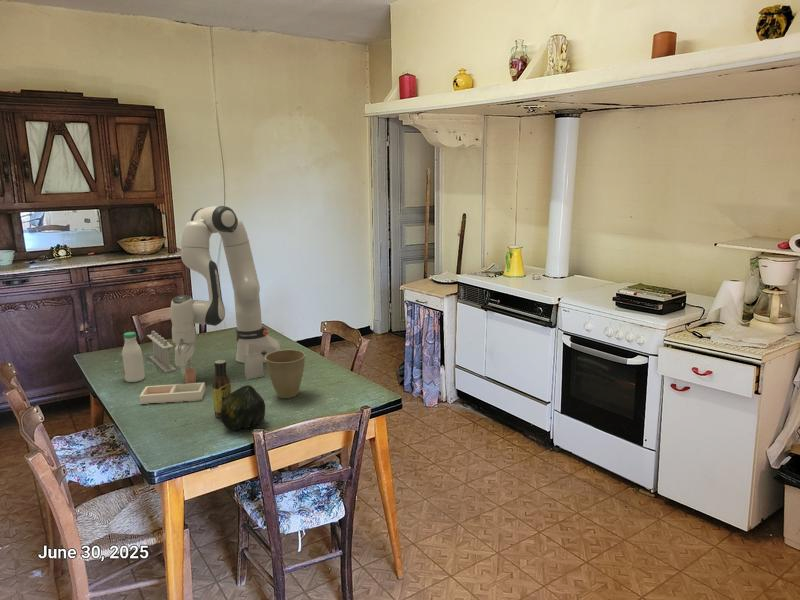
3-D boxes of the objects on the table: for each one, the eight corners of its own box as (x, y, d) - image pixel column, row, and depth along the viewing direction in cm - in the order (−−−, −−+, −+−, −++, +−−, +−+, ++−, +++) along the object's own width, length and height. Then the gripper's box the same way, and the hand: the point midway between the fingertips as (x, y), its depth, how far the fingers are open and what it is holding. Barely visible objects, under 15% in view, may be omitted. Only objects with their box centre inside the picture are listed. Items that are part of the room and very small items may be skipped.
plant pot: (262, 392, 236) (259, 353, 232) (298, 385, 243) (296, 347, 240) (275, 406, 224) (272, 365, 220) (313, 397, 231) (310, 357, 227)
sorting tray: (205, 390, 239) (204, 382, 238) (201, 400, 230) (200, 391, 229) (146, 394, 236) (145, 386, 235) (140, 405, 226) (139, 396, 225)
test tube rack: (176, 370, 263) (172, 341, 260) (165, 372, 260) (162, 343, 257) (159, 356, 282) (156, 328, 279) (149, 358, 280) (146, 330, 277)
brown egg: (196, 381, 249) (195, 367, 248) (195, 385, 245) (193, 371, 244) (186, 382, 248) (185, 368, 247) (184, 385, 245) (183, 371, 243)
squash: (206, 411, 206) (225, 385, 199) (239, 398, 218) (258, 373, 211) (229, 445, 202) (249, 419, 195) (261, 429, 215) (281, 405, 207)
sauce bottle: (225, 419, 213) (220, 365, 208) (211, 417, 215) (206, 363, 210) (236, 412, 218) (232, 359, 214) (222, 410, 221) (217, 357, 216)
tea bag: (263, 376, 254) (262, 353, 251) (247, 379, 250) (246, 356, 248) (260, 374, 257) (259, 351, 254) (245, 377, 253) (243, 354, 251)
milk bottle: (149, 377, 255) (143, 331, 250) (134, 383, 248) (128, 336, 243) (135, 374, 258) (130, 329, 253) (120, 381, 251) (114, 334, 246)
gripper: (186, 343, 233) (189, 378, 236) (197, 329, 252) (199, 361, 255) (169, 344, 232) (172, 378, 235) (181, 329, 252) (183, 361, 255)
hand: (186, 369), depth 245 cm, fingers open, 8 cm apart
